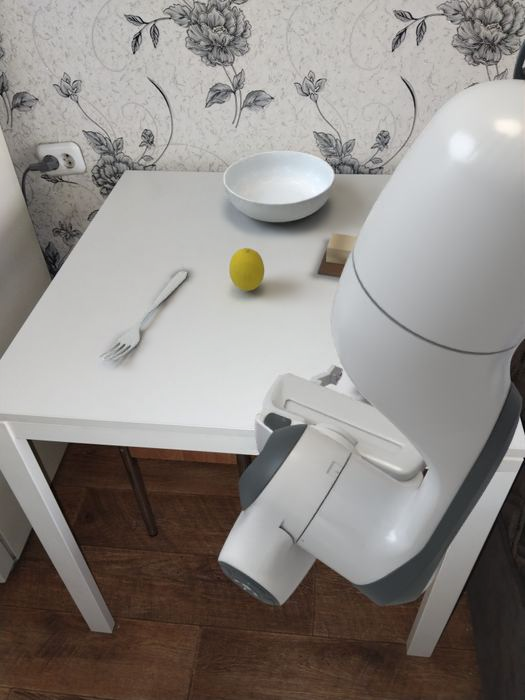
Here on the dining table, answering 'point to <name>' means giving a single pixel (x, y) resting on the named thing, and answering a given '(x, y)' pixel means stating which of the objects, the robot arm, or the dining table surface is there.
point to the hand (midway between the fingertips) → (371, 383)
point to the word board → (330, 268)
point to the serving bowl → (279, 185)
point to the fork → (134, 335)
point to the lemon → (246, 269)
